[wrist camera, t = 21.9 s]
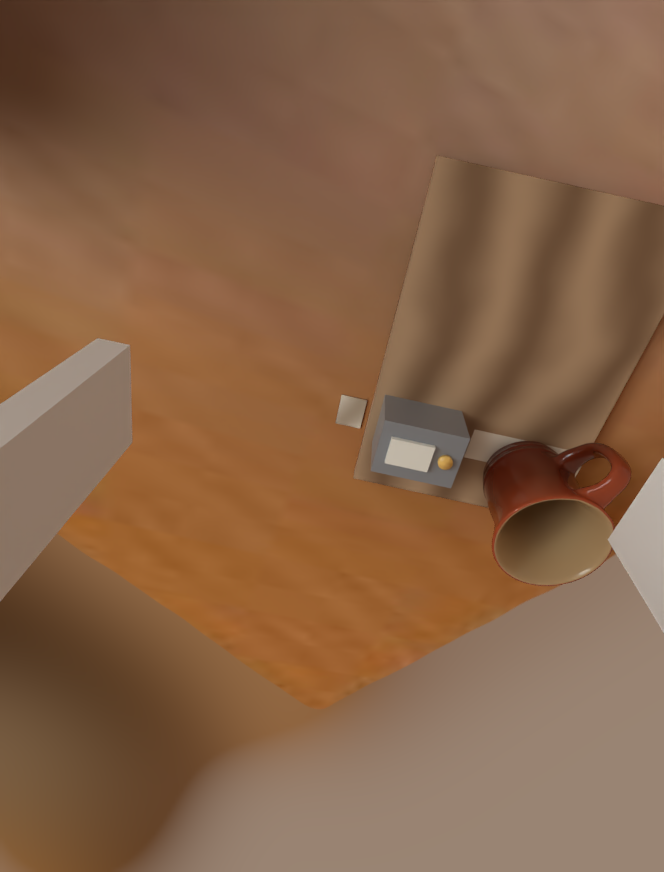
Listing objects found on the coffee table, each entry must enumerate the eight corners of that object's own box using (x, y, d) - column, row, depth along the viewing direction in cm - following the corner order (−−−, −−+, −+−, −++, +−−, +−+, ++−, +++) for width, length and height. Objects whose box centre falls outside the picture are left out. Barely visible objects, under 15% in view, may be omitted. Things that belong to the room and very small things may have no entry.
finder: (372, 441, 45) (370, 473, 41) (385, 394, 43) (384, 422, 38) (444, 457, 45) (451, 491, 41) (461, 411, 43) (471, 441, 38)
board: (326, 465, 49) (324, 472, 47) (397, 147, 35) (397, 146, 34) (547, 513, 49) (551, 521, 48) (706, 216, 35) (716, 217, 34)
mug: (519, 521, 48) (549, 602, 39) (452, 475, 46) (467, 549, 37) (620, 439, 43) (682, 511, 34) (549, 383, 41) (595, 444, 32)
